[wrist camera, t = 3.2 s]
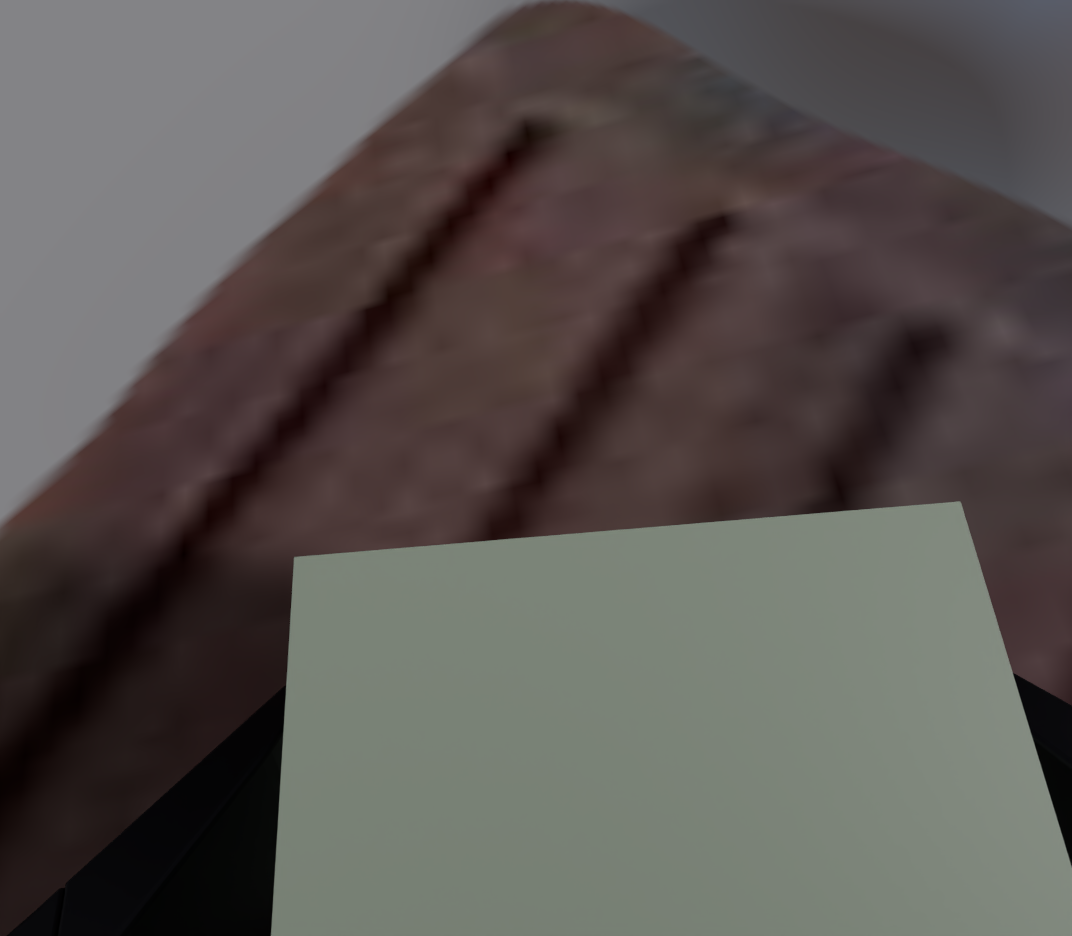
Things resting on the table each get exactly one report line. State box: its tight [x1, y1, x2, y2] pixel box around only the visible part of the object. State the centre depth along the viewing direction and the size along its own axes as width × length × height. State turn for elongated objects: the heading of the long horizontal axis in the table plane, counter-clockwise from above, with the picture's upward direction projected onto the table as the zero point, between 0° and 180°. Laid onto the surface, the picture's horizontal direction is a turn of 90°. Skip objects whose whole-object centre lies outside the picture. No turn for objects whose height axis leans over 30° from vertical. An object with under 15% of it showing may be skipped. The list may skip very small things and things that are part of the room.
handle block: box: [271, 502, 1072, 936], centre depth 9 cm, size 5×5×12 cm
